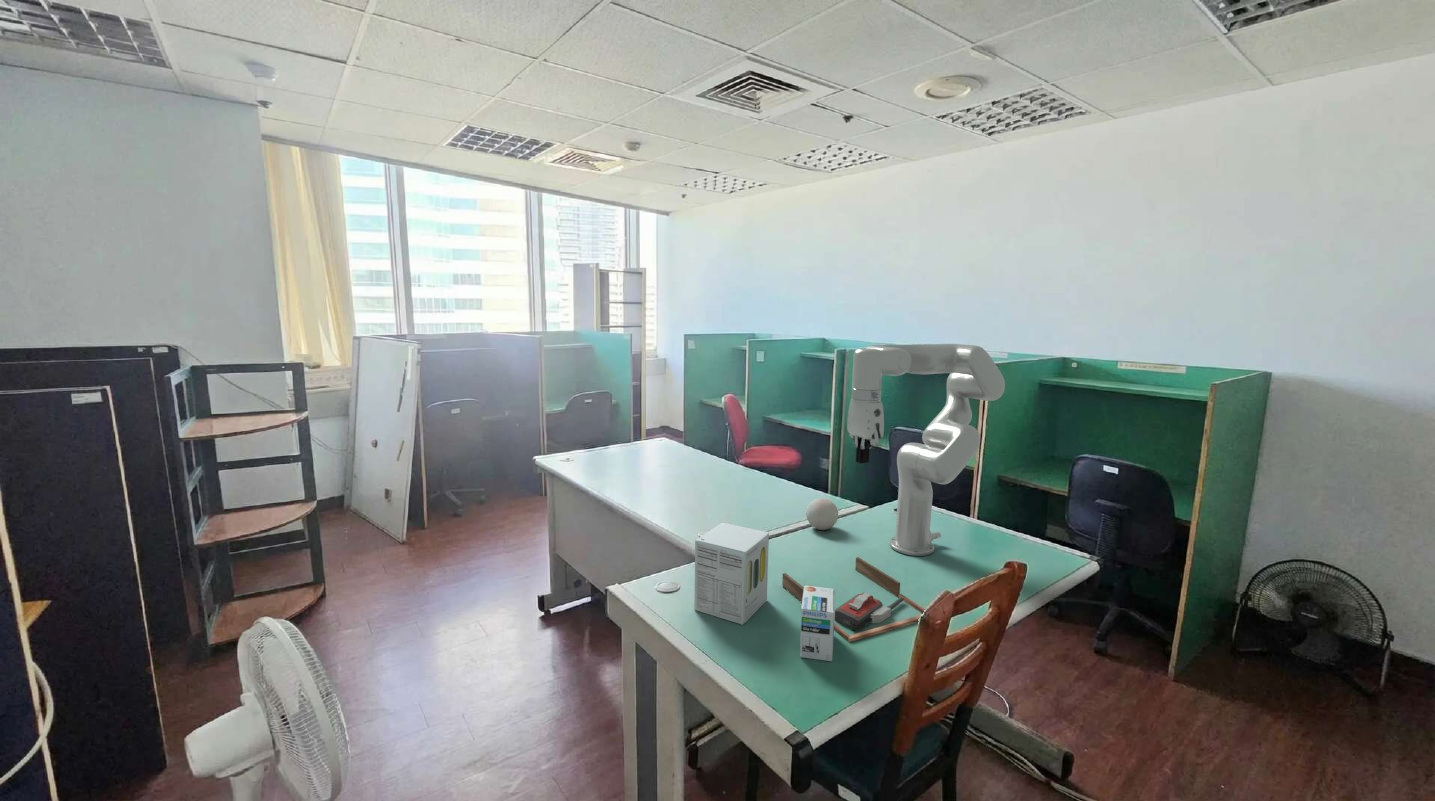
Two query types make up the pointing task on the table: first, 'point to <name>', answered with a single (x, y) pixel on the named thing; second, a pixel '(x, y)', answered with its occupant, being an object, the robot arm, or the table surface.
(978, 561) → the table surface
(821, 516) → the eye model
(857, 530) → the table surface
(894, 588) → the brown wooden frame
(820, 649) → the light bulb box
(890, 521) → the table surface
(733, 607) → the supplement box
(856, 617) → the walkie-talkie
